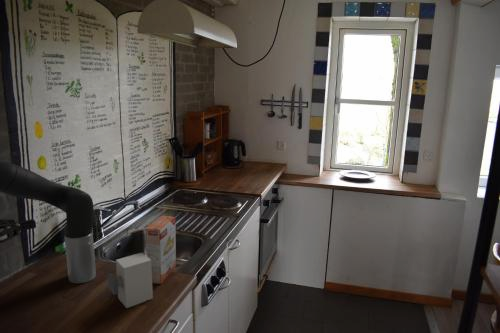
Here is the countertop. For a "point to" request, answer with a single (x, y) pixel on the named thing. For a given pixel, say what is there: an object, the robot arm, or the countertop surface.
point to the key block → (134, 279)
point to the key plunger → (114, 283)
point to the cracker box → (161, 247)
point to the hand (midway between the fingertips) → (35, 223)
